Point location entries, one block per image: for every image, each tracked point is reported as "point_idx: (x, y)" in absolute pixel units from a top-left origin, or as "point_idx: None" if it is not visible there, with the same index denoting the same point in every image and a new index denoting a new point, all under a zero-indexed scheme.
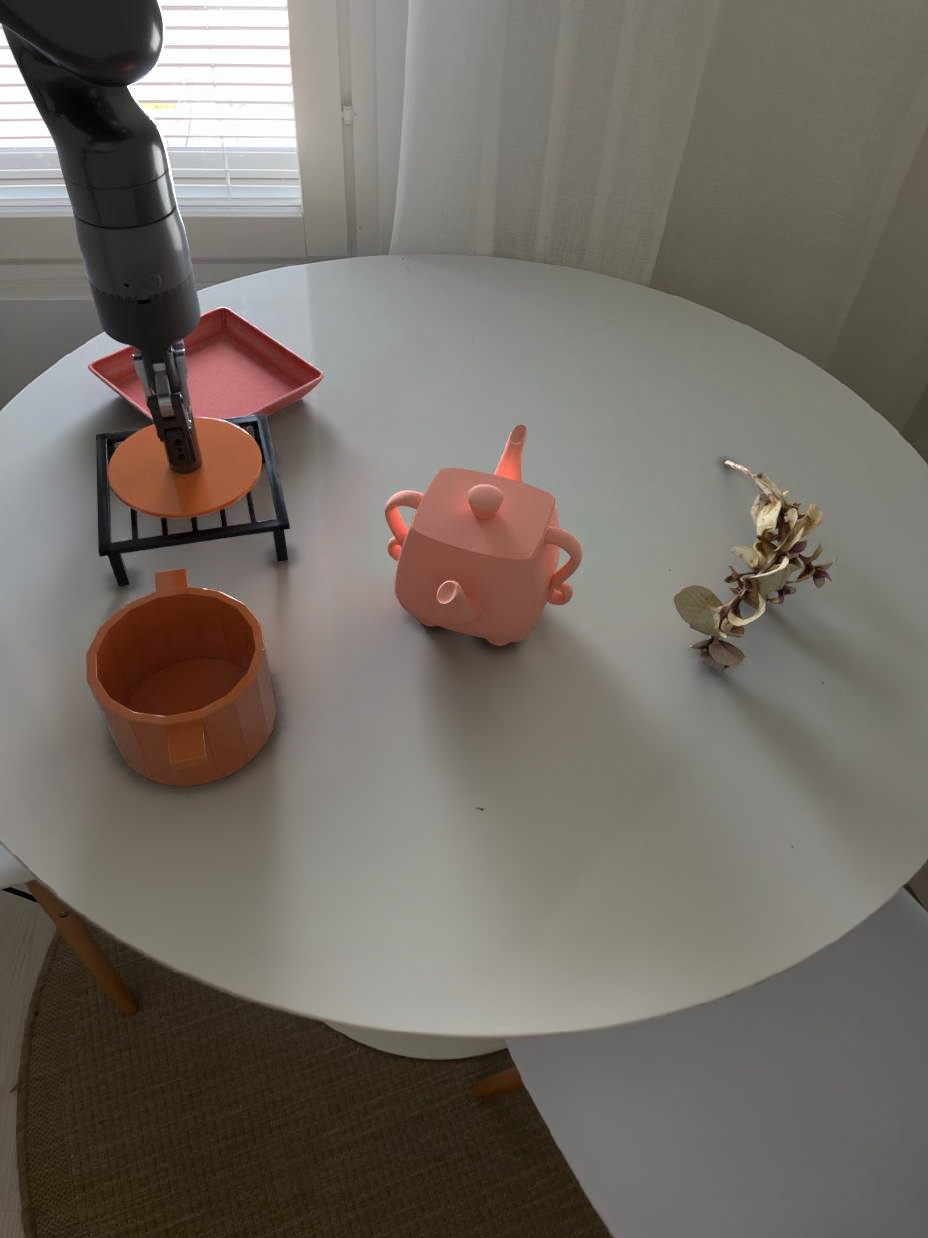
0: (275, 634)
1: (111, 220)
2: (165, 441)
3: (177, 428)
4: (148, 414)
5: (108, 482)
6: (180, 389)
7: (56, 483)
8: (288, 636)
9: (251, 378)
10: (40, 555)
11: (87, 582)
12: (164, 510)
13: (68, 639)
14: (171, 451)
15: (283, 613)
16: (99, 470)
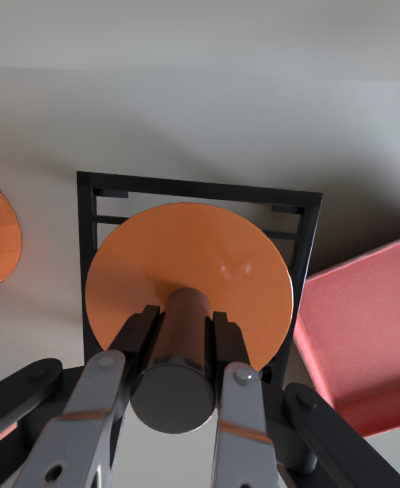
0: (37, 304)
1: None
2: (129, 334)
3: (19, 431)
4: (354, 261)
5: (211, 198)
6: (214, 448)
7: (297, 136)
8: (34, 313)
9: (384, 364)
10: (183, 109)
11: (131, 156)
12: (97, 267)
13: (58, 130)
14: (119, 331)
15: (59, 315)
16: (238, 189)
